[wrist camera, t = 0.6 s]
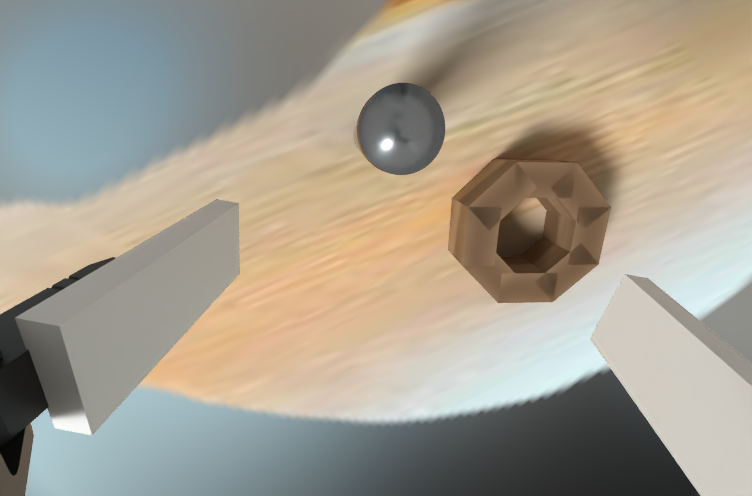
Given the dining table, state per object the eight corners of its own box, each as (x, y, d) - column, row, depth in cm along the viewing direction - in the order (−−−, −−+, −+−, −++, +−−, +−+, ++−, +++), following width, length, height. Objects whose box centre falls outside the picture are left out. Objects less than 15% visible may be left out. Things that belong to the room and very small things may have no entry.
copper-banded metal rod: (372, 107, 29) (404, 60, 12) (399, 136, 30) (464, 131, 13) (345, 135, 30) (338, 129, 13) (372, 164, 31) (400, 194, 13)
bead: (524, 130, 31) (552, 128, 26) (596, 224, 34) (632, 236, 30) (424, 224, 33) (435, 237, 28) (501, 305, 36) (521, 327, 31)
